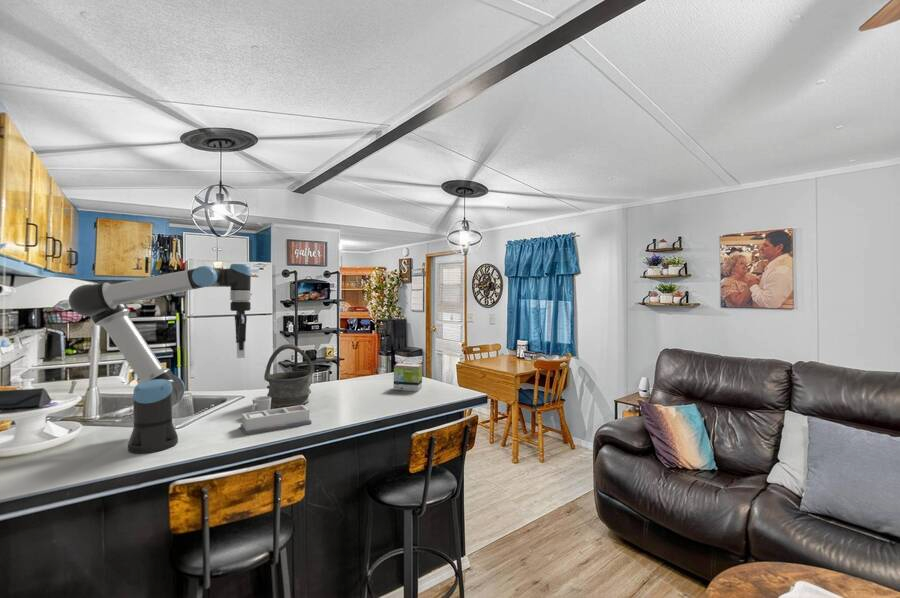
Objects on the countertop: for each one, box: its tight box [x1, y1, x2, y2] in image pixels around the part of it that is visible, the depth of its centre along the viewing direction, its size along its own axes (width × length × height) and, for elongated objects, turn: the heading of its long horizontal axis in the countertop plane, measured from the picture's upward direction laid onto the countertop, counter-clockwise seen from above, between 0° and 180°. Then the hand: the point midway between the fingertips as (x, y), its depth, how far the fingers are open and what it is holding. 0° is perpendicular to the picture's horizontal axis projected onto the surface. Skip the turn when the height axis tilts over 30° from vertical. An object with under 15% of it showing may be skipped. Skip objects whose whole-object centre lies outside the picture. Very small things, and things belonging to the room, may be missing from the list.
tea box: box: [393, 362, 423, 392], centre depth 250 cm, size 15×10×15 cm, turn 81°
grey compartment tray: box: [239, 404, 312, 436], centre depth 181 cm, size 26×12×6 cm, turn 125°
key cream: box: [248, 413, 264, 418], centre depth 176 cm, size 5×5×2 cm
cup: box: [250, 395, 272, 412], centre depth 194 cm, size 11×8×8 cm
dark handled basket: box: [263, 343, 315, 409], centre depth 217 cm, size 22×23×30 cm
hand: (240, 357), depth 177 cm, fingers closed
